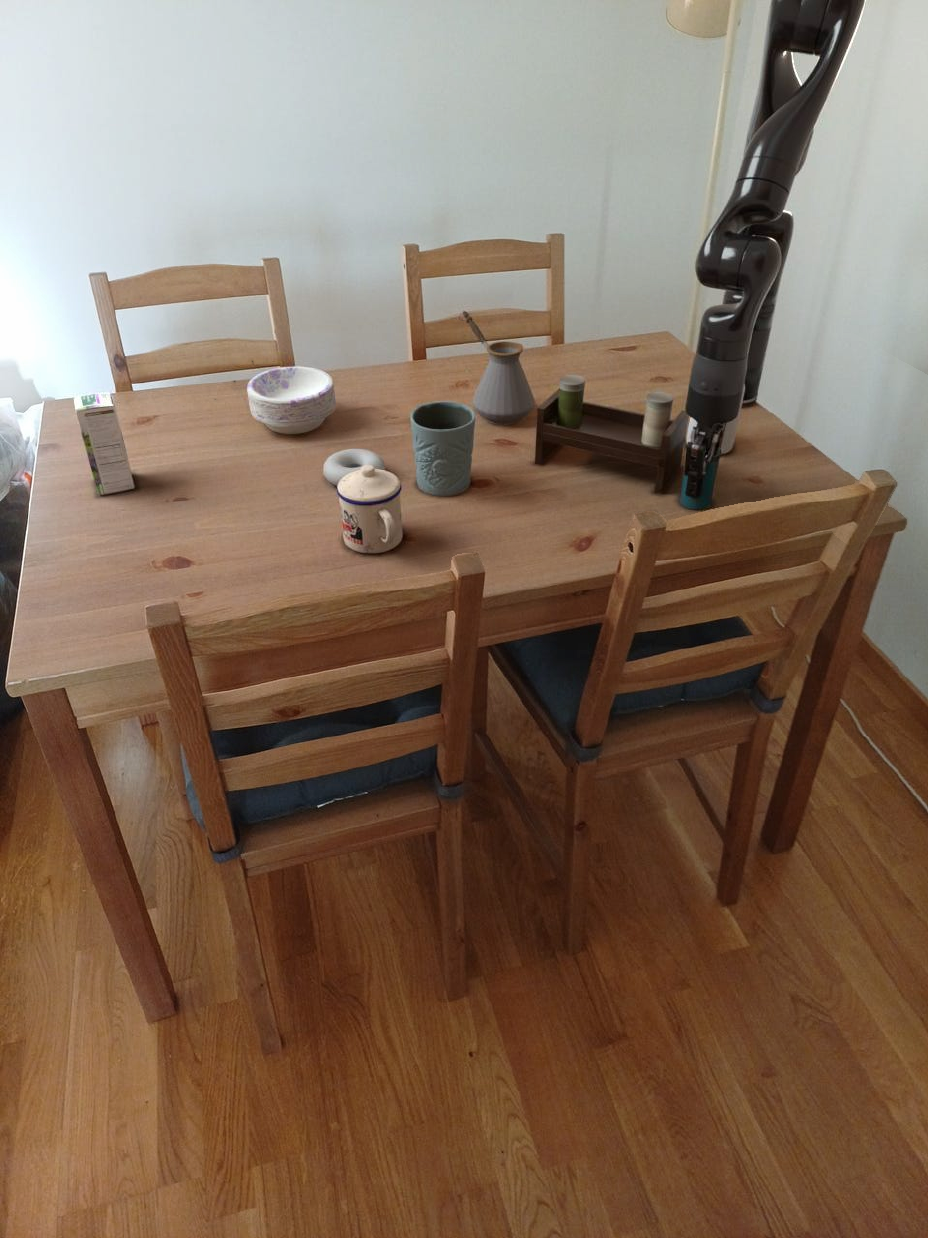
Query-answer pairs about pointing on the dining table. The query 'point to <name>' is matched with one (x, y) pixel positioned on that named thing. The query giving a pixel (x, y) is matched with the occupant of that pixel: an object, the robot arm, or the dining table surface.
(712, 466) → the spice jar
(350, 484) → the teacup with lid
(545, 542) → the dining table surface
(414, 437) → the teal embossed cup
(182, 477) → the dining table surface
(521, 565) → the dining table surface
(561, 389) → the spice rack
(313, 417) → the paper bowls
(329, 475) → the donut
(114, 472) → the syrup box
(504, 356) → the coffee pot
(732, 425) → the pill bottle
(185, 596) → the dining table surface
